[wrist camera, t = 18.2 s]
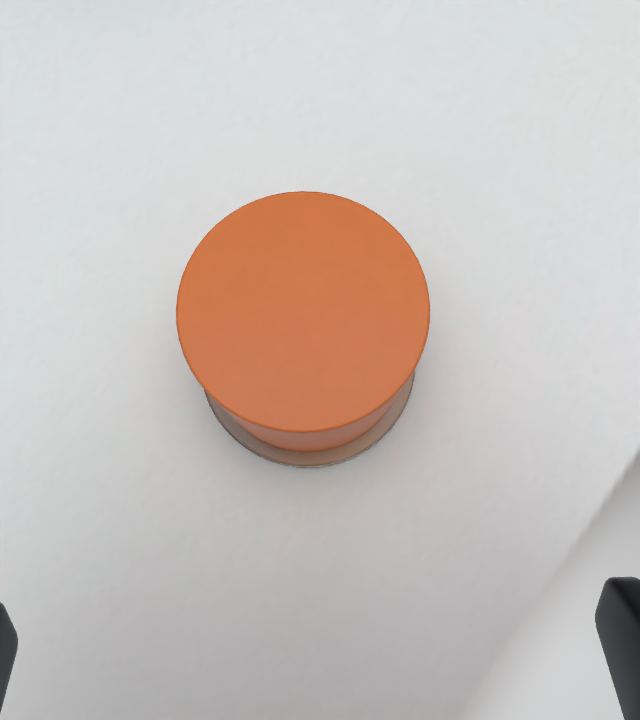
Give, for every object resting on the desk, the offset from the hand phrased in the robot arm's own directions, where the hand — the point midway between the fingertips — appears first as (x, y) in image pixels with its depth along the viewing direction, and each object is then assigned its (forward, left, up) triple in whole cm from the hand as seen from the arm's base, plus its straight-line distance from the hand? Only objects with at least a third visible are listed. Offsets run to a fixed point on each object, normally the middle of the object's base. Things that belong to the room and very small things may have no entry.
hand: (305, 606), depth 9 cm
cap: (+3, -5, -9) cm, 11 cm away
